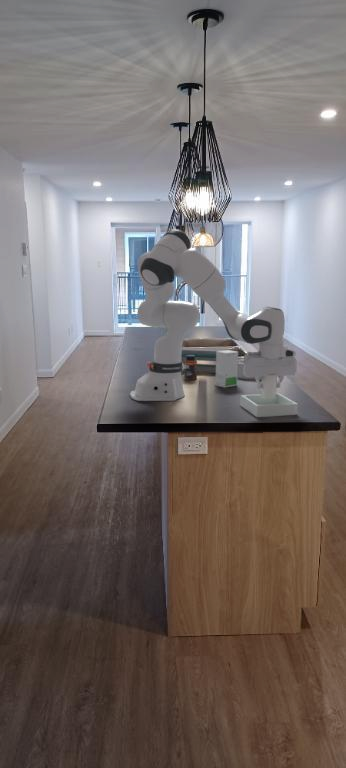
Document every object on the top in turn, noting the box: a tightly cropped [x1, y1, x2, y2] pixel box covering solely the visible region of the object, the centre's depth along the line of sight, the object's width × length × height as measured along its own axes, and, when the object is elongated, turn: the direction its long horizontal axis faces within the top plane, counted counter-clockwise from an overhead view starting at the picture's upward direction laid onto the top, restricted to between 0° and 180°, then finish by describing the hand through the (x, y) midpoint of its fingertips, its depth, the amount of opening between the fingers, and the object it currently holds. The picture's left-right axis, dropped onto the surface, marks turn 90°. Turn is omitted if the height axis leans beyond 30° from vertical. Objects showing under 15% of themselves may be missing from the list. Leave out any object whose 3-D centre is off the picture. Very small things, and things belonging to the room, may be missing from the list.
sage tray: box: [239, 392, 299, 418], centre depth 200 cm, size 16×16×4 cm
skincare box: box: [214, 349, 239, 388], centre depth 237 cm, size 8×7×16 cm
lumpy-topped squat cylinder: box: [237, 358, 262, 380], centre depth 256 cm, size 10×13×9 cm
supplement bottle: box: [183, 355, 198, 381], centre depth 249 cm, size 6×6×11 cm
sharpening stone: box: [181, 346, 231, 374], centre depth 268 cm, size 25×8×11 cm, turn 80°
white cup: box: [260, 374, 278, 399], centre depth 198 cm, size 6×6×9 cm
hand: (268, 387), depth 198 cm, fingers closed on white cup, 6 cm apart
